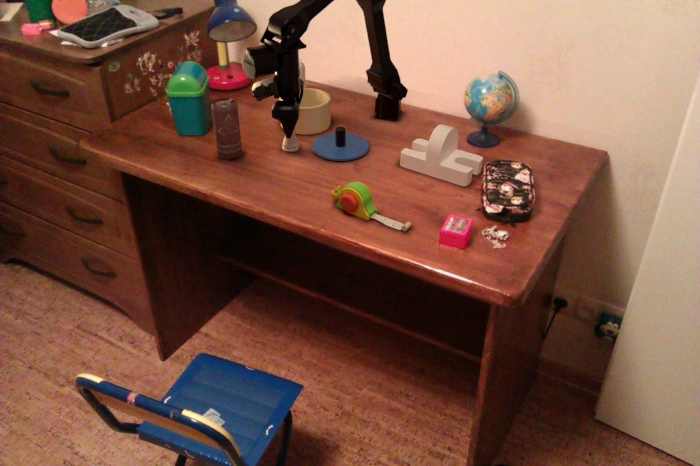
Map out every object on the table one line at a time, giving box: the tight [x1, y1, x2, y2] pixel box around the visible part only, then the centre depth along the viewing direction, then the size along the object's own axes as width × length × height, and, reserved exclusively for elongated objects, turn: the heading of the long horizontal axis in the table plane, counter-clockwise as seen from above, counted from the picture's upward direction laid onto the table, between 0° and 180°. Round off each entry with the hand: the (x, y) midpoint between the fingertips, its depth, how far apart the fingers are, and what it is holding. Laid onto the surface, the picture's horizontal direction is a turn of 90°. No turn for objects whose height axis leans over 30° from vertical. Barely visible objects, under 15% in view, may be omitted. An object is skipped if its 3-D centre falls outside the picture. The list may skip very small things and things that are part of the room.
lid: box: [311, 126, 370, 162], centre depth 153 cm, size 15×15×6 cm
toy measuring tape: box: [331, 181, 412, 233], centre depth 128 cm, size 6×20×7 cm, turn 55°
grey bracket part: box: [399, 123, 484, 187], centre depth 144 cm, size 10×18×11 cm, turn 56°
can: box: [211, 97, 243, 161], centre depth 147 cm, size 6×6×14 cm
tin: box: [278, 87, 332, 136], centre depth 164 cm, size 14×14×8 cm
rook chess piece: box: [281, 128, 300, 153], centre depth 152 cm, size 4×4×8 cm
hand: (290, 129), depth 151 cm, fingers open, 9 cm apart
